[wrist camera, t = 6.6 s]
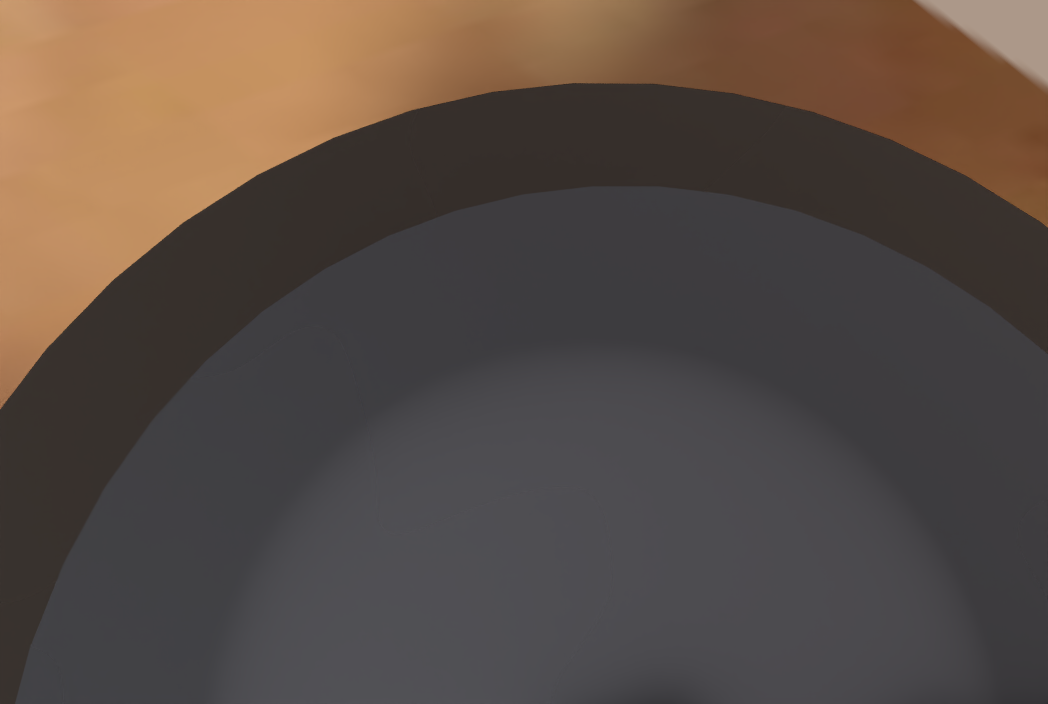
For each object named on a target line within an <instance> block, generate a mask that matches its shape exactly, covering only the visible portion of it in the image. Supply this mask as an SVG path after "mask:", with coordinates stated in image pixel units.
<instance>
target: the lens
mask: <svg viewBox="0 0 1048 704" xmlns="http://www.w3.org/2000/svg"><path fill="white" fill-rule="evenodd" d="M0 704H1048V228H1047V227H1046V226H1045V225H1043V224H1042V223H1041V222H1040V221H1038V220H1036V219H1035V218H1033V217H1031V216H1030V215H1028V214H1027V213H1025V212H1023V211H1022V210H1020V209H1019V208H1017V207H1015V206H1014V205H1012V204H1010V203H1009V202H1007V201H1006V200H1004V199H1002V198H1001V197H999V196H998V195H996V194H994V193H993V192H991V191H990V190H988V189H986V188H985V187H983V186H981V185H980V184H978V183H977V182H975V181H973V180H972V179H970V178H969V177H967V176H965V175H963V174H961V173H959V172H957V171H955V170H953V169H950V168H948V167H946V166H944V165H942V164H940V163H938V162H936V161H934V160H932V159H930V158H928V157H926V156H923V155H921V154H919V153H917V152H915V151H913V150H911V149H909V148H907V147H905V146H903V145H901V144H898V143H896V142H894V141H892V140H890V139H887V138H884V137H882V136H879V135H876V134H873V133H870V132H867V131H865V130H862V129H859V128H856V127H853V126H851V125H848V124H845V123H842V122H839V121H836V120H834V119H831V118H828V117H825V116H822V115H819V114H817V113H814V112H810V111H806V110H802V109H797V108H793V107H789V106H785V105H780V104H776V103H772V102H768V101H763V100H759V99H755V98H750V97H746V96H742V95H738V94H733V93H725V92H717V91H708V90H700V89H692V88H683V87H675V86H667V85H658V84H588V83H572V84H563V85H553V86H544V87H535V88H526V89H516V90H507V91H498V92H491V93H486V94H482V95H477V96H473V97H468V98H464V99H460V100H455V101H451V102H446V103H442V104H438V105H433V106H429V107H424V108H420V109H415V110H412V111H409V112H406V113H403V114H400V115H397V116H395V117H392V118H389V119H386V120H383V121H380V122H378V123H375V124H372V125H369V126H366V127H363V128H360V129H358V130H355V131H352V132H349V133H346V134H343V135H341V136H338V137H335V138H333V139H331V140H329V141H326V142H324V143H322V144H320V145H318V146H316V147H314V148H312V149H310V150H308V151H306V152H304V153H302V154H300V155H298V156H296V157H294V158H292V159H290V160H288V161H286V162H283V163H281V164H279V165H277V166H275V167H273V168H271V169H269V170H267V171H265V172H263V173H261V174H259V175H257V176H255V177H254V178H252V179H251V180H249V181H248V182H246V183H245V184H243V185H241V186H240V187H238V188H237V189H235V190H234V191H232V192H230V193H229V194H227V195H226V196H224V197H223V198H221V199H220V200H218V201H216V202H215V203H213V204H212V205H210V206H209V207H207V208H206V209H204V210H202V211H201V212H199V213H198V214H196V215H195V216H193V217H191V218H190V219H188V220H187V221H185V222H184V223H182V224H181V225H180V226H179V227H178V228H176V229H175V230H174V231H173V232H171V233H170V234H169V235H168V236H167V237H165V238H164V239H163V240H162V241H160V242H159V243H158V244H157V245H156V246H154V247H153V248H152V249H151V250H149V251H148V252H147V253H146V254H145V255H143V256H142V257H141V258H140V259H138V260H137V261H136V262H135V263H134V264H132V265H131V266H130V267H129V268H127V269H126V270H125V271H124V272H123V273H121V274H120V275H119V276H118V277H116V278H115V279H114V280H113V281H112V282H111V283H110V284H109V285H108V286H107V287H106V288H105V289H104V290H103V291H102V292H101V293H100V294H99V295H98V296H97V297H96V298H95V299H94V300H93V302H92V303H91V304H90V305H89V306H88V307H87V308H86V309H85V310H84V311H83V312H82V313H81V314H80V315H79V316H78V317H77V318H76V319H75V320H74V321H73V322H72V323H71V324H70V325H69V326H68V327H67V328H66V329H65V330H64V331H63V333H62V334H61V335H60V336H59V337H58V338H57V339H56V340H55V341H54V342H53V343H52V344H51V345H50V346H49V347H48V348H47V349H46V350H45V352H44V353H43V354H42V356H41V357H40V358H39V360H38V361H37V362H36V364H35V365H34V366H33V367H32V369H31V370H30V371H29V373H28V374H27V375H26V377H25V378H24V379H23V380H22V382H21V383H20V384H19V386H18V387H17V388H16V390H15V391H14V392H13V394H12V395H11V396H10V397H9V399H8V400H7V401H6V403H5V404H4V405H3V407H2V408H1V409H0Z"/></svg>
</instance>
